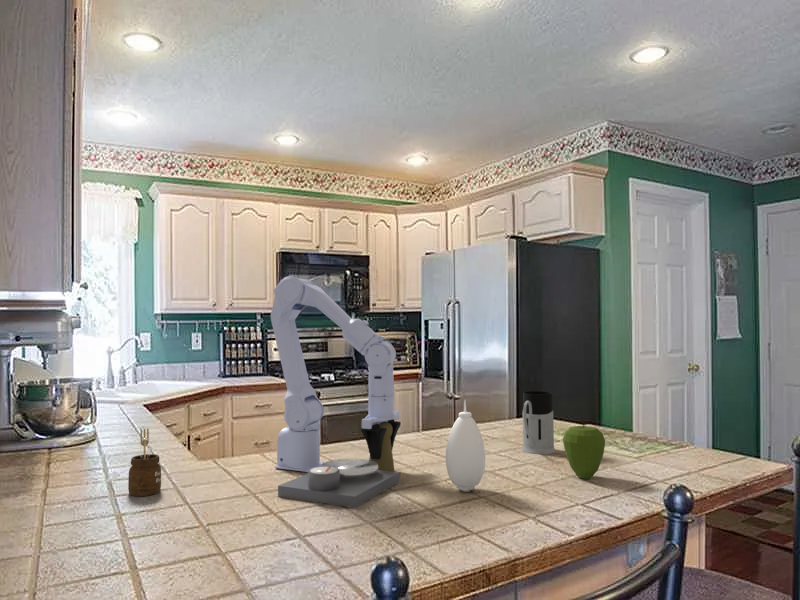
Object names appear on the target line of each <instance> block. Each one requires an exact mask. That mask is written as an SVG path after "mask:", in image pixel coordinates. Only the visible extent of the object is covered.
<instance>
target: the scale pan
mask: <svg viewBox="0 0 800 600" xmlns="http://www.w3.org/2000/svg"><path fill="white" fill-rule="evenodd" d="M320 467H334V468H337V469H339V470H340V478H356V477H364V476H369V475H372V474H375V473H376V472H378V464H377V463H376V462H374V461H371V460H369V459H364V458H363V459H362V458H340V459H332V460H328V461H325V462H324V463H322V464H321V465H320Z"/></svg>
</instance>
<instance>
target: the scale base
mask: <svg viewBox="0 0 800 600" xmlns="http://www.w3.org/2000/svg"><path fill="white" fill-rule="evenodd" d="M400 482H401V471H395V472H393V471H385V470H378V472H376V473H375V474H372V475H369V476H364V477H356V478H340V470H339V469H337V468H334V467H316V468H313V469H311V470H309V471H308V472H307V473H306V474H303V475H301V476H298V477H296V478H293V479H291V480H289V481H286V482H284V483H281V484H279V485H277V496H278V497H280V498H281V497H282V498H287V499H293V500H294V499H295V500H301V501H308V502H312V503H313V502H314V503H318V504H319V503H322V504H328V505H334V506H340V507H346V508H347V507H348V508H354V509H355V508H358V507H359V506H360V505H362V504H365V503H366V502H367V501H369V500H371V499H373V498H374V497H376V496H377V495H379V494H382V493H384V492H385V491H387V490H389V489H391V488H392V487H394V486H396V485H397V484H399V483H400Z"/></svg>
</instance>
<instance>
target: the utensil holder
mask: <svg viewBox="0 0 800 600" xmlns="http://www.w3.org/2000/svg"><path fill="white" fill-rule="evenodd" d="M149 431H150V430H149V428H147V429H146V428H144V429H142V428H140V436H139V437H140V439H139V440H140V441H139V453H138V454H139V455H135V456H132V457H131V458H130V459H131V460H130V465H131V466H130V467H129V471H128V483H127V484H128V485H127V486H128V494H129V495H130V496H132V497H148V496H153V495H156V494H158V493H159V492H161V488H162V466H161V465H160V463H159V462H160V455H158V454H154V453H153V454H152V448H153V447H151V446H153V445H152V440H151V439H150V436H149V433H150V432H149ZM150 441H151V442H150ZM148 445H149V448H148V449H150V452H148V453H146V451H147V450H146V447H147V446H148ZM142 446H143V454H141V453H142Z"/></svg>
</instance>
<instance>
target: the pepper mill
mask: <svg viewBox="0 0 800 600" xmlns="http://www.w3.org/2000/svg"><path fill="white" fill-rule="evenodd" d="M379 426H380V428H386V429H387V430H386V432H385V435H384V438H383V443H382V453H381V458H380V459H371V457H370V456H369V459H368V460H371V461H374V462H376V463H377V464H378V470H385V471H393V472H396V471H395V463H394V456H393V449H392V447H391V440H390V437H391V435H392V432H393V428H392V425H391V424H390V423H388V422H382V423H380V424H379Z"/></svg>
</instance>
